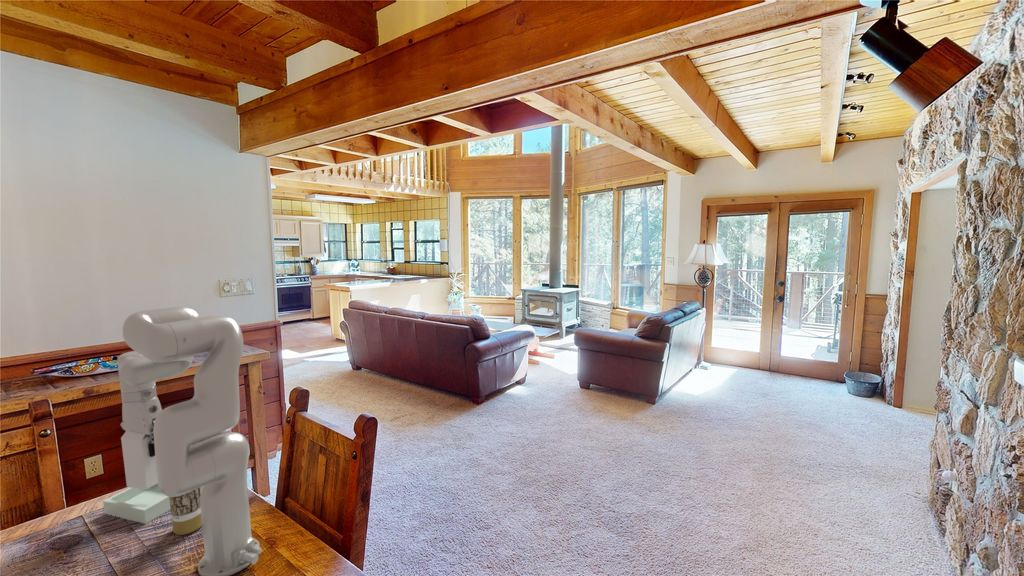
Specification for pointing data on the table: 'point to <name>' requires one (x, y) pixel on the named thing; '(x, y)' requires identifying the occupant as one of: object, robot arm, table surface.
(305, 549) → the table surface
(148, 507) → the tray
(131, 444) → the milk carton
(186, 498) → the paper tube
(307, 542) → the table surface
